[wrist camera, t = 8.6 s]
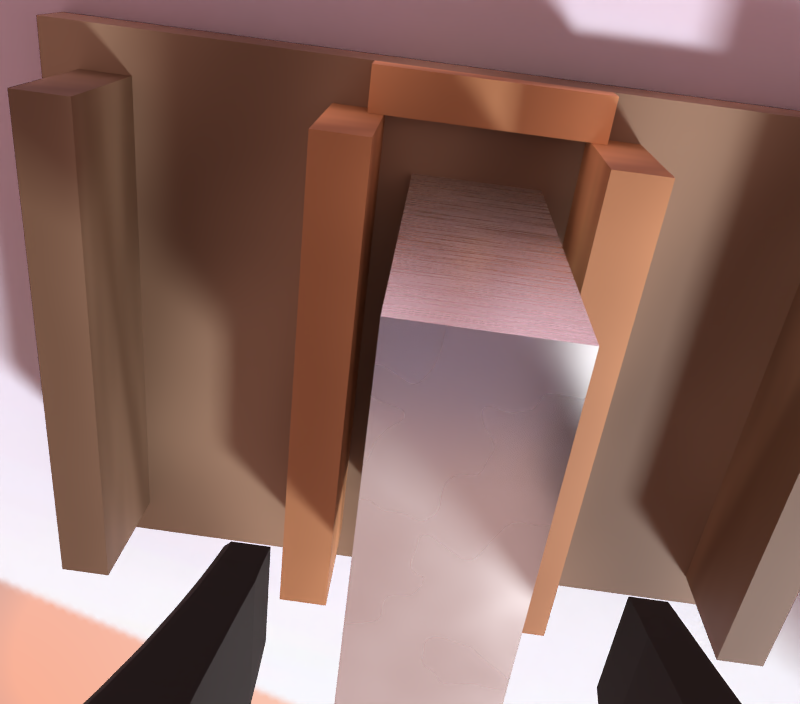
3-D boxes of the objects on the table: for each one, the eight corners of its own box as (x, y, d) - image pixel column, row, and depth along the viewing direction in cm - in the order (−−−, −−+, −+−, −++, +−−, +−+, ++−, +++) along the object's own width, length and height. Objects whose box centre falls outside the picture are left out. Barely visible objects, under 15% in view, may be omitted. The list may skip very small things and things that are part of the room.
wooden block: (476, 500, 22) (486, 765, 14) (371, 486, 22) (330, 743, 14) (541, 190, 17) (598, 346, 10) (411, 173, 17) (380, 315, 10)
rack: (924, 127, 17) (1052, 172, 14) (731, 582, 24) (781, 696, 20) (61, 12, 18) (-46, 24, 14) (100, 494, 24) (34, 592, 20)
